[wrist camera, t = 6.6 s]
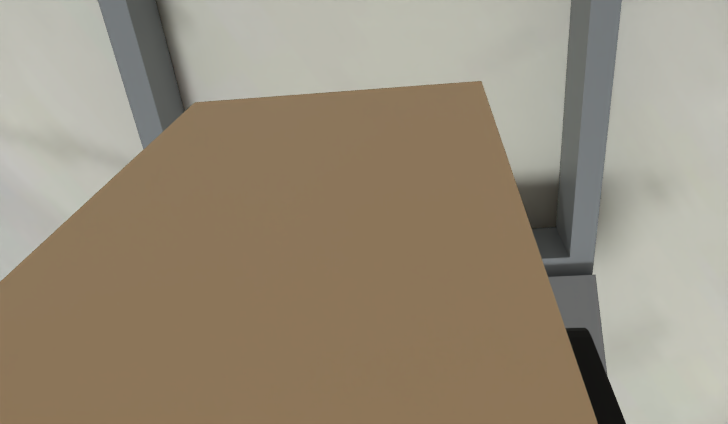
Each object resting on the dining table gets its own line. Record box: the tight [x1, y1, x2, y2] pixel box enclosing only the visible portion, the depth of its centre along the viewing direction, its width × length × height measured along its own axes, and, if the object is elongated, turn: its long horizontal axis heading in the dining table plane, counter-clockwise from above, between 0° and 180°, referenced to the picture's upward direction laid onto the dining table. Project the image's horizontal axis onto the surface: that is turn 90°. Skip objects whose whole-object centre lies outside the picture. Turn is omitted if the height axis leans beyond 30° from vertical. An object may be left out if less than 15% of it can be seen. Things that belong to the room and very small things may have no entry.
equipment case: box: [98, 0, 622, 374], centre depth 21 cm, size 18×27×11 cm, turn 6°
